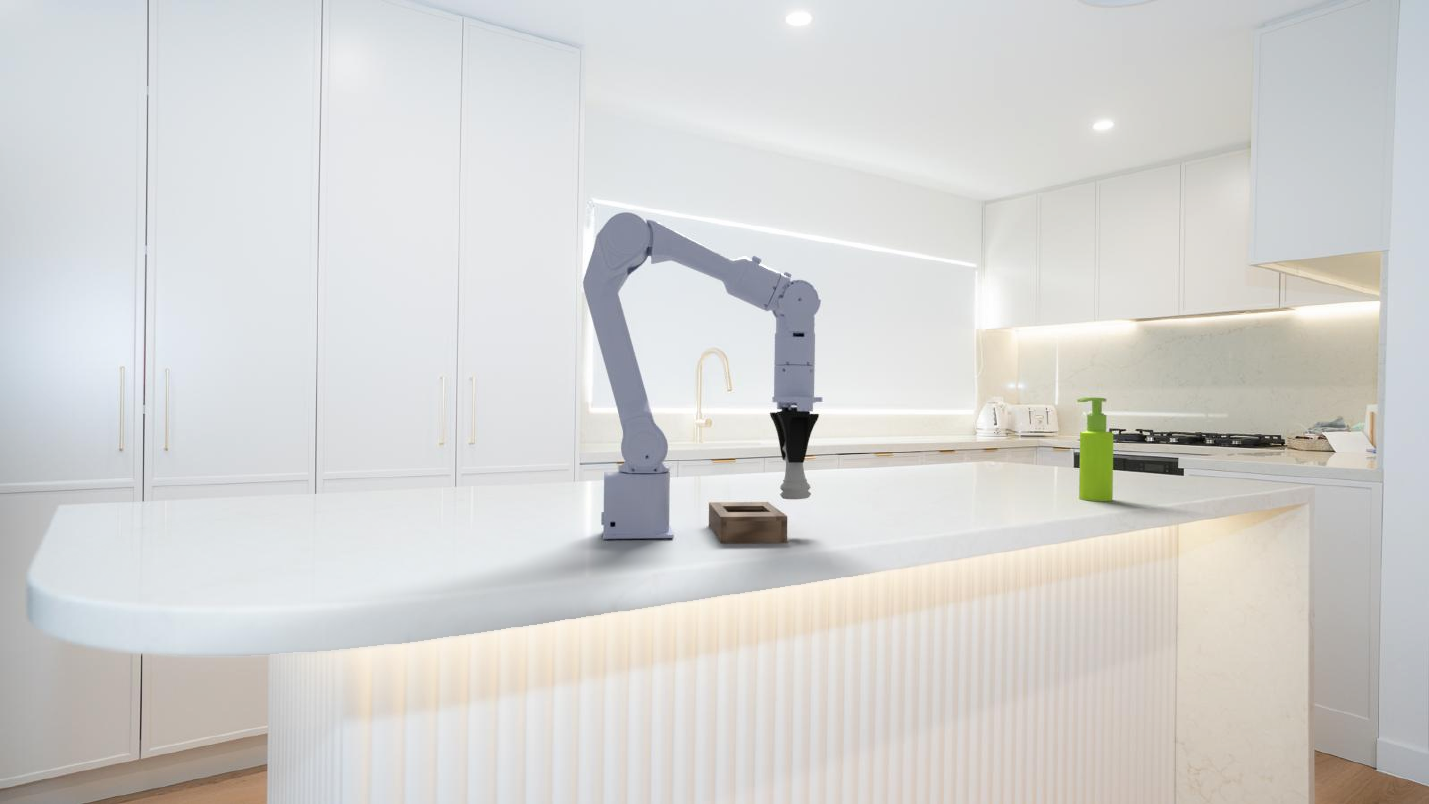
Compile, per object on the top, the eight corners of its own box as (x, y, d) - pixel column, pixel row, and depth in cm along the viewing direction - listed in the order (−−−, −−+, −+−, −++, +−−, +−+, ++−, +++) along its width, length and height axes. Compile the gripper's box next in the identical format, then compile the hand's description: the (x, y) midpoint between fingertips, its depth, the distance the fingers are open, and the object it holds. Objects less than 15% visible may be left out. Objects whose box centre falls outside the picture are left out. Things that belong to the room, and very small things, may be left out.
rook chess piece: (811, 499, 108) (809, 442, 108) (779, 500, 108) (777, 443, 108) (811, 495, 112) (809, 440, 112) (780, 495, 113) (778, 441, 113)
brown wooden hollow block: (720, 543, 103) (720, 516, 103) (708, 525, 117) (708, 502, 117) (787, 542, 104) (787, 516, 104) (767, 524, 118) (767, 501, 118)
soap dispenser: (1068, 497, 154) (1069, 397, 153) (1096, 496, 156) (1097, 397, 156) (1090, 501, 148) (1092, 397, 148) (1119, 500, 150) (1120, 397, 150)
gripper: (835, 364, 103) (834, 466, 104) (809, 368, 118) (808, 457, 118) (784, 363, 103) (782, 465, 103) (764, 367, 117) (762, 457, 117)
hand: (793, 461), depth 110 cm, fingers closed on rook chess piece, 3 cm apart
